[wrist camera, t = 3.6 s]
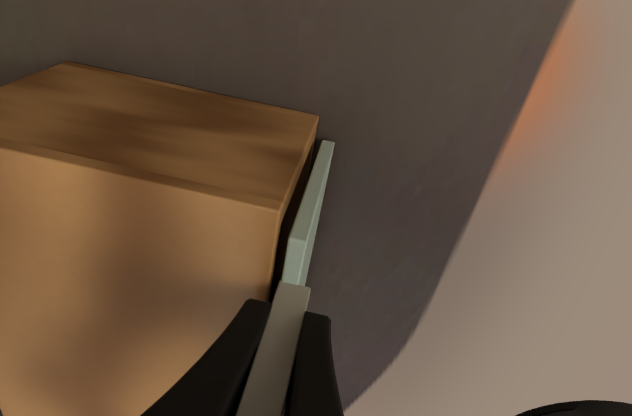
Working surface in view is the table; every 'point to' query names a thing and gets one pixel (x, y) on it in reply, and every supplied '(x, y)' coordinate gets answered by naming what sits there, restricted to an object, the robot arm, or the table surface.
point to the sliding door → (287, 304)
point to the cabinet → (133, 231)
